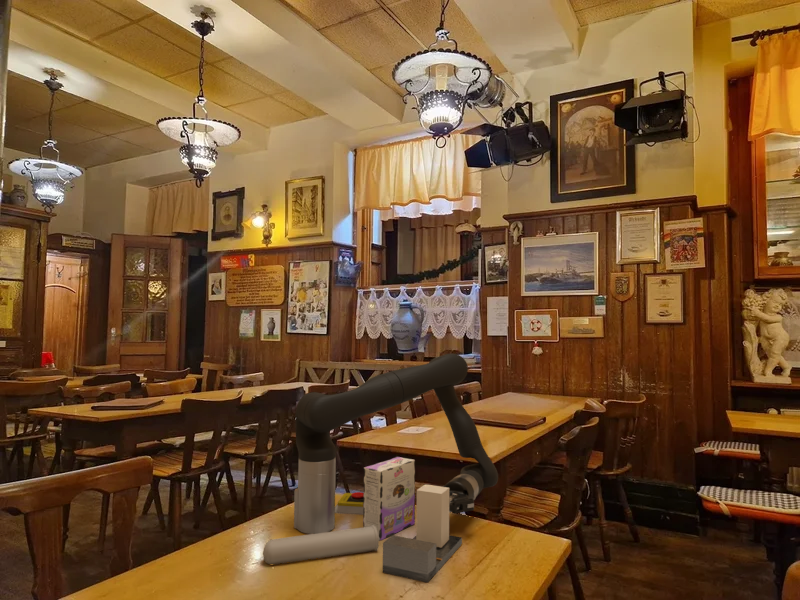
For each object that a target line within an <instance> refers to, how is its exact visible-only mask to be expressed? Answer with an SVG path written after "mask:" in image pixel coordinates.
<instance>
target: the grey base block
mask: <svg viewBox="0 0 800 600" xmlns="http://www.w3.org/2000/svg"><path fill="white" fill-rule="evenodd" d="M461 544H462V545H463V537H460V536H456V535H450V534H449V540H448V541H447V542H446V543H445V544H444V545H443V547H442V548H440V547H436V543H431V542H426V541H421V540H416V535H415V536H414V537H413V538H410V537H405V536H399V535H396V534H393V535H391V536H389V537H387V538H386V539H385V540H384V541H383V542H382V573H384V574H387V575H388V574H389V575H392V576H397V577H401V578H406V579H410V580H415V581H420V582H424V583H430V581H431V580H432V578H433V577H434V576H435V575H436V574H437V573H438V572H439V571H440V569H442V567H443V566H444V565H445V564H446V563H447V561H449V559H450V558H451V557H452V556H453V555H454V554H455V553H456V552H457V550H459V548H460V547H461V546H462V545H461Z"/></svg>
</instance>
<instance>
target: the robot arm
mask: <svg viewBox="0 0 800 600" xmlns="http://www.w3.org/2000/svg"><path fill="white" fill-rule="evenodd" d="M468 371H469V366H468V362H467V361H466V360H465V358H464V357H462V355H460V354H457V353H445V354H442V355H440V356H437V357H434V358H433V359H431V360H430V361H429V362H428V363H424V364H422V365H415V366H410V367H405V368H404V367H403V368H399V369H394V370H391V371H387V372H384V373H381V374H378V375H375V376H373V377H371V378H369V379H367V380H366V381H365V382H364V383H362V384H361V385H359V386H358V387H356V388H355V389H352V390H351V389H350V390H348V391H344V392H339V393H333V394H324V393H321V392H317V391H316V392H315V391H314V392H308V393H306V394H304V395H303V396H302V397H301V398H300V399H299V400H298V402H297V405H296V408H295V445H296V448H297V452H298V453H297V454H298V474H297V475H298V476H297V477H298V478H297V488H295V489H294V498H293V499H294V500H293V501H294V503H293V504H294V508H293V511H294V513H293V515H294V517H293V528H294V529H297V530H298V531H299V532H301V533H303V534H307V535H309V534H317V533H325V532H332V531H333V529H334V528H335V523H336V522H335V521H336V519H335V518H336V517H335V516H336V513H335V506H336V466H337V465H336V464H337V463H336V457H337V456H336V453H337V451H336V450H337V449H336V448H337V447H336V446H335V443H333V440H332V437H331V435H330V432H331V431H333V430H335V429H338V428H340V427H342V426H343V425H346V424H347V423H350V422H351V421H354V420H356V419H358V418H361V417H363V416H368V415H371V414H374V413H377V412H380V411H383V410H387V409H390V408H392V407H396V406H398V405H400V404H403V403H405V402H408V401H410V400H413V399H416V398H418V397H419V396H421V395H424V394H425V393H427V392H430V391H432V390H433V391H434V393H435V395H436V397H437V399H438V401H439V403H440V405H441V408H442V409H443V412H444V414H445V416H446V418H447V421H448V423H449V426H450V428H451V432H452V435H453V438H454V440H455V444H456V447H457V450H458V453H459V456H460V457H461V458H465V459H473V460H475V461H476V462H477V463H473V464H468V465H465V466H464V467H462V468H461V469H460V474H458V475H457V476H454V477H453V478H452V479H451V480H449V481H448V482H447V483H446V484H445V485H443V487H447V488H449V513H452V514H461V513H467V512H471V511H475V510H474V509H475V500H476V498H477V497H478V495H480V494H481V492H482V491H483V489H487V488H492V487H494V486H496V485H497V483H498V480H499V473H498V470H497V468H496V466H495V464H494V462H493V461H492V460H491V458H490V456H489V455H488V453H487V451H486V450H485V448H484V446H483V444H482V441H481V440H482V439H481V438H480V434H479V431H478V429H477V425H476V424H475V422H474V419H473V418H472V416H471V415H470V413H468V412H467V410H466V408H465V407H464V406H463V404H462V403H461V401H460V400H459V397H458V395H457V393H456V389H455V386H456V385H458V384H460V383H461V382H463V381H464V380H465V379H466V377H467V375H468Z"/></svg>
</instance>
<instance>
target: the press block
mask: <svg viewBox="0 0 800 600" xmlns="http://www.w3.org/2000/svg"><path fill="white" fill-rule="evenodd" d="M415 523H416V525H415V526H416V527H415V528H416V532H415V533H416V534H415V536H416V540H421V541H426V542H431V543H436V547H440V548H442V547H443V545H444V544H445V543H446V542H447V541H448V540H449V535H450V512H449V488H447V487H444V486H439V485H431V484H424V485H422V486H420V487H419V488H417V489H416V521H415Z"/></svg>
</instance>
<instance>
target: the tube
mask: <svg viewBox="0 0 800 600" xmlns="http://www.w3.org/2000/svg"><path fill="white" fill-rule="evenodd" d="M379 542H380V541H379V536H378V532H377V528H376V527H375V526H374V525H372V526H370V527H363V526H362V527H356V528H349V529H348V528H347V529H341V530H334V531H333V530H331V531H328V532H325V533H317V534H304V535H302V534H301V535H296V536H295V535H294V536H288V537H280V538H273V539H270V540H268V541H267V542H266V543H265V545H264V547H263V550H262V551H263V552H262V555H263V556H262V557H263V561H264V562H265V563H266V564H268V565H269V564H275V565H281V564H280V563H282V564H288V563H287V562H290V563H296V561H297V562H302V561H303V560H304V561H309V560H308V559H311V560H316V558H318V559H325V557H326V558H330V557H331V556H333V557H338V556H339V555H340V556H345V555H346V556H348V555H353V554H361V553H367V552H378V549H379V546H380V545H379Z"/></svg>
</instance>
